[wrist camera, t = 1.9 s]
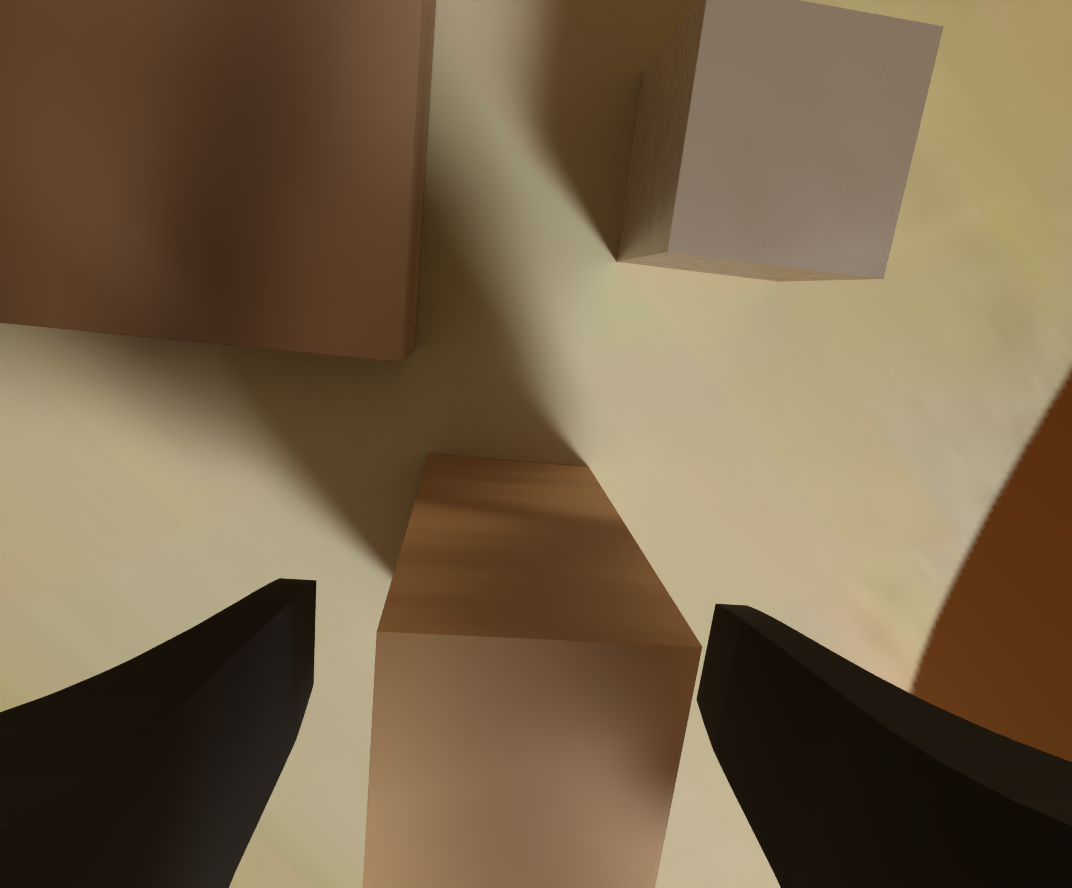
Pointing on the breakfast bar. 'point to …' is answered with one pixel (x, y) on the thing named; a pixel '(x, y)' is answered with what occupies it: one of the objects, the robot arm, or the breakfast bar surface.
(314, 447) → the breakfast bar surface
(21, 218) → the hole plate
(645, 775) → the oak pin
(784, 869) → the robot arm
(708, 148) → the steel stub
